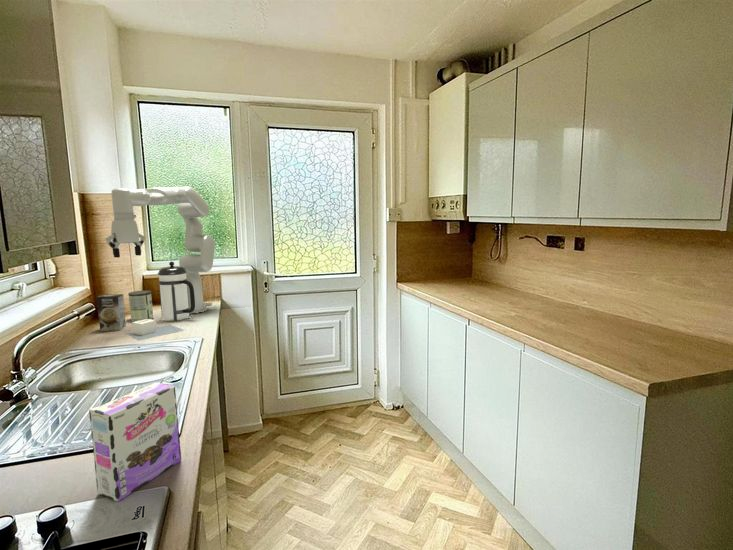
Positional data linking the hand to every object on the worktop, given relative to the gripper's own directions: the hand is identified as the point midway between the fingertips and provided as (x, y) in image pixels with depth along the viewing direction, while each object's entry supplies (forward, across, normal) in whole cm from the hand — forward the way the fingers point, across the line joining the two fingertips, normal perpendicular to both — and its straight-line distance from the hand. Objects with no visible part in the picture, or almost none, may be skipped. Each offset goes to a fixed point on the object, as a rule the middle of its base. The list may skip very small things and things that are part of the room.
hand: (127, 256), depth 178 cm
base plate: (+34, 0, +14) cm, 37 cm away
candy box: (+35, +66, +103) cm, 127 cm away
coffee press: (+34, -21, +2) cm, 41 cm away
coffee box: (+34, +2, -14) cm, 37 cm away
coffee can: (+34, -17, -19) cm, 43 cm away
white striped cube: (+33, +3, +11) cm, 35 cm away
